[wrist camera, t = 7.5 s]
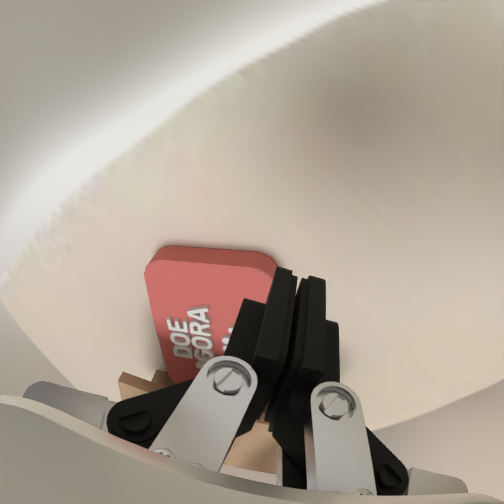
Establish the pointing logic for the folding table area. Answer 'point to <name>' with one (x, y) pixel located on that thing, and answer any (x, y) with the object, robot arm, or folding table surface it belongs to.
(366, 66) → the folding table surface
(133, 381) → the overhang ledge
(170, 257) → the plaque
